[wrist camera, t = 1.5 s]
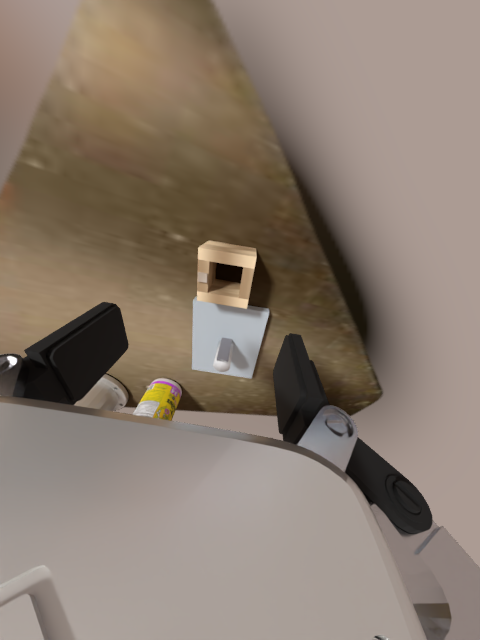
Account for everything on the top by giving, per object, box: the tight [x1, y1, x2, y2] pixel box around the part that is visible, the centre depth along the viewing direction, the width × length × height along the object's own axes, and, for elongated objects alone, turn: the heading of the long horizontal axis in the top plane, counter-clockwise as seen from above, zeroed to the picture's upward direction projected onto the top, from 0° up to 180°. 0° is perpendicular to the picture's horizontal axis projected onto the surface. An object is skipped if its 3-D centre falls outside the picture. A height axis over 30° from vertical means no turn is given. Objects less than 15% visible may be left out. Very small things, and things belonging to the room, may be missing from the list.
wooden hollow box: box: [197, 241, 257, 309], centre depth 22 cm, size 6×6×5 cm
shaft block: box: [192, 297, 269, 379], centre depth 28 cm, size 14×11×6 cm
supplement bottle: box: [132, 378, 182, 421], centre depth 33 cm, size 7×7×13 cm
